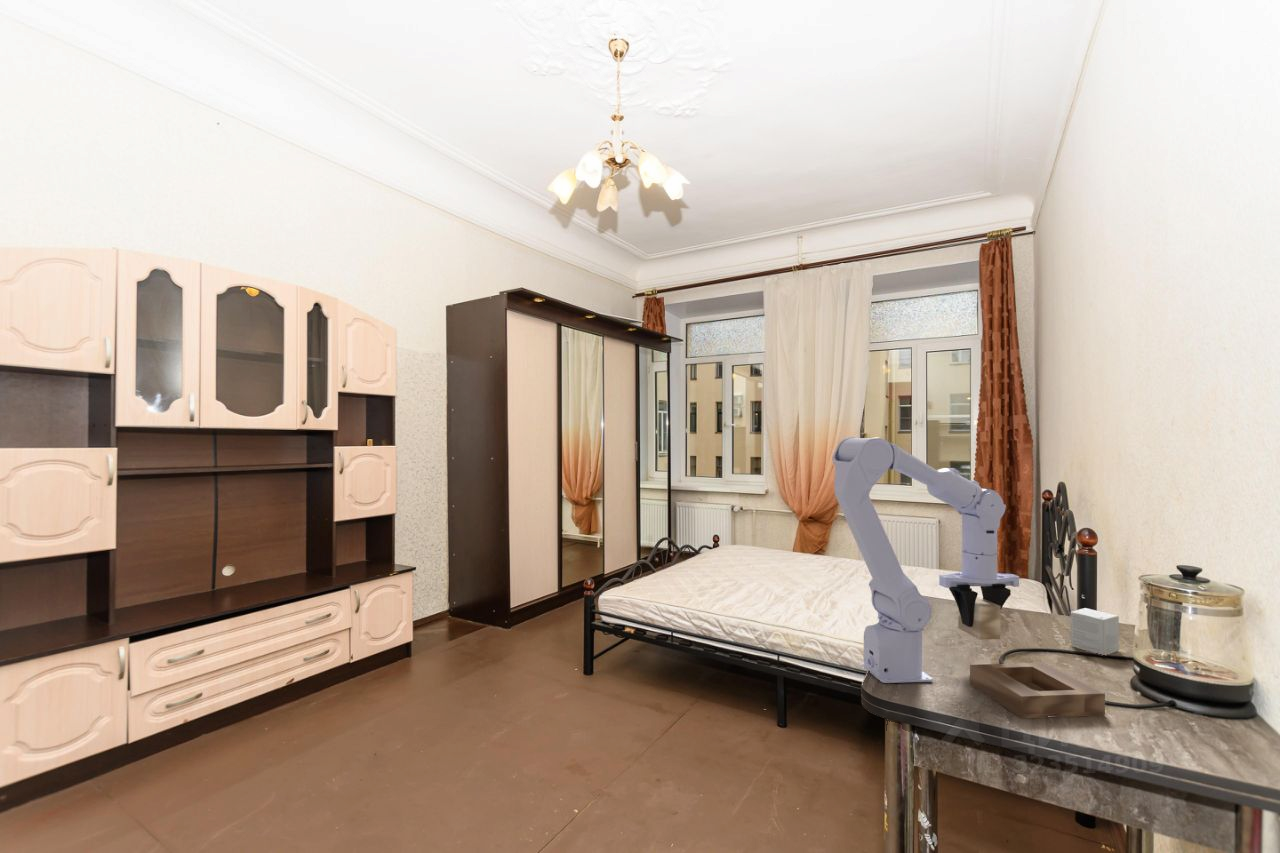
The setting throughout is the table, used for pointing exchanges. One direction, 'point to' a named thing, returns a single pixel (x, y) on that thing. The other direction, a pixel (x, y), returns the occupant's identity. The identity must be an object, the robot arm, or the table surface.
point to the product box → (1095, 631)
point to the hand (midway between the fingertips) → (978, 624)
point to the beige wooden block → (984, 620)
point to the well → (1037, 690)
